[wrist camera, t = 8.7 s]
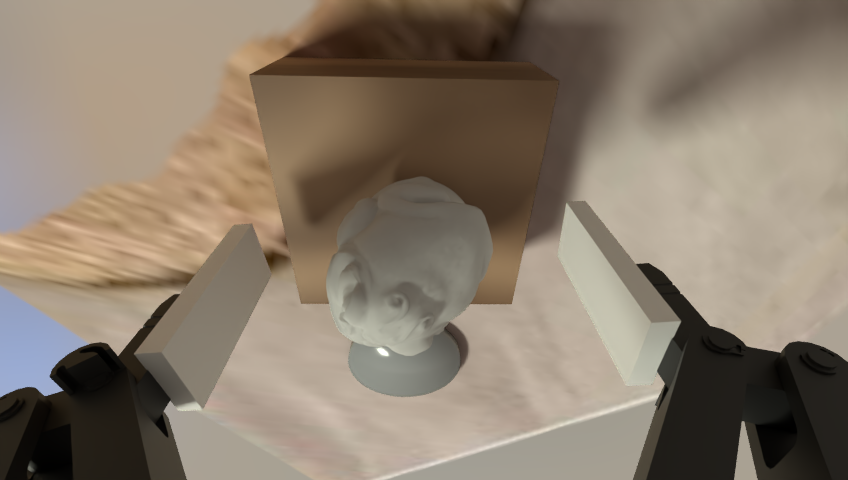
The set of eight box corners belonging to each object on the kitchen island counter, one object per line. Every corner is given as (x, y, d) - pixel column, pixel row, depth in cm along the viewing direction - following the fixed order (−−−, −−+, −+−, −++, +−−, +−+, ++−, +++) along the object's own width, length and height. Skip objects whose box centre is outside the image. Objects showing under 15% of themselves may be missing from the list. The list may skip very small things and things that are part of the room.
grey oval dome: (339, 320, 28) (338, 328, 27) (458, 313, 28) (459, 321, 27) (359, 391, 33) (358, 399, 32) (460, 385, 33) (461, 393, 32)
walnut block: (286, 55, 18) (249, 74, 14) (527, 60, 19) (559, 80, 14) (320, 251, 25) (301, 303, 21) (496, 252, 25) (511, 304, 21)
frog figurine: (316, 219, 18) (268, 329, 12) (418, 114, 15) (421, 190, 9) (407, 286, 20) (404, 404, 14) (508, 206, 18) (555, 311, 12)
